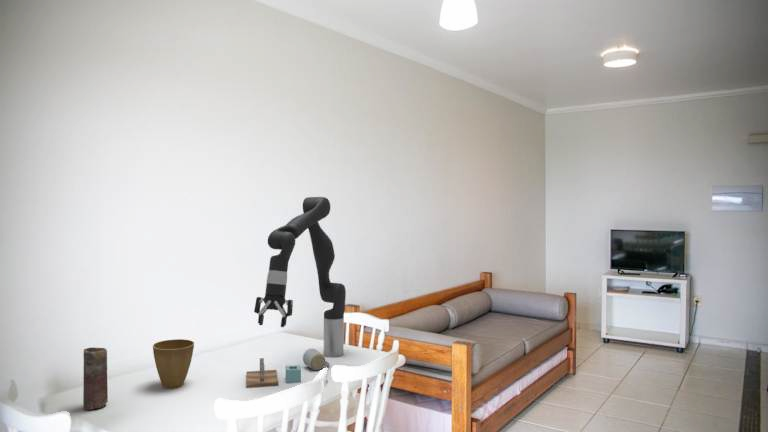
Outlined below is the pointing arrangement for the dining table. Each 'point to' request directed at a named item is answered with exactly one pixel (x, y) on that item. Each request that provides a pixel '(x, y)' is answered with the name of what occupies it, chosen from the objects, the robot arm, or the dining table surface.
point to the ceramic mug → (314, 359)
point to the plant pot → (173, 361)
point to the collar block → (293, 374)
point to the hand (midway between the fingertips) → (271, 326)
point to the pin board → (256, 378)
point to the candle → (95, 378)
